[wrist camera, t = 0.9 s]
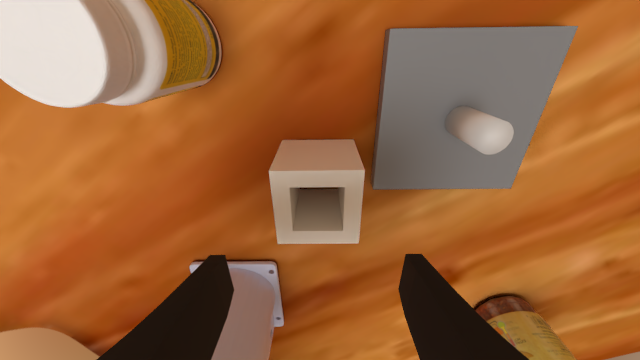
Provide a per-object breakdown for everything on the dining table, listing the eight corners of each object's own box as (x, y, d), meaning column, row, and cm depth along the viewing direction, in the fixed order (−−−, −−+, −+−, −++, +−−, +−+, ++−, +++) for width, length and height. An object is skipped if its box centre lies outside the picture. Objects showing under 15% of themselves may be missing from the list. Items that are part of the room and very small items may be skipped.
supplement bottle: (182, -26, 13) (-12, -135, 5) (239, 60, 15) (155, 68, 7) (122, 29, 14) (-107, 2, 6) (182, 101, 16) (60, 146, 8)
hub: (350, 199, 19) (358, 243, 15) (287, 199, 19) (277, 243, 15) (353, 139, 17) (364, 170, 12) (282, 139, 17) (268, 171, 13)
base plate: (501, 181, 18) (551, 217, 14) (370, 182, 19) (384, 218, 15) (561, 27, 14) (659, 17, 10) (385, 30, 14) (411, 21, 10)
